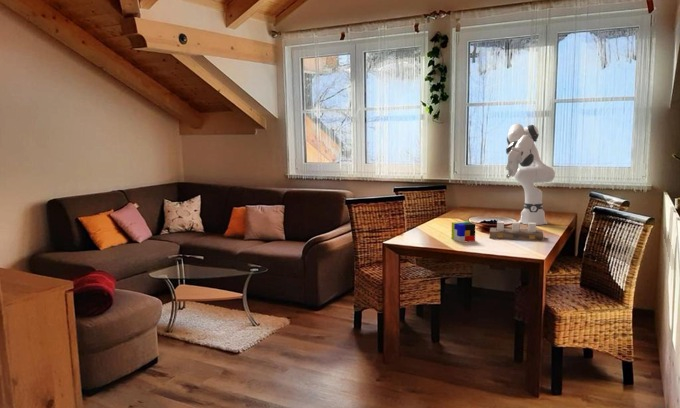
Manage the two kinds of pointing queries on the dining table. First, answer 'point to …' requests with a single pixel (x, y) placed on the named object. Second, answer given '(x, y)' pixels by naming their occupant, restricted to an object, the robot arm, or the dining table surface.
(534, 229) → the plunger
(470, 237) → the puzzle toy
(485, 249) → the dining table surface
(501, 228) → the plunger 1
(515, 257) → the dining table surface
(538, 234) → the console
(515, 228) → the plunger middle
